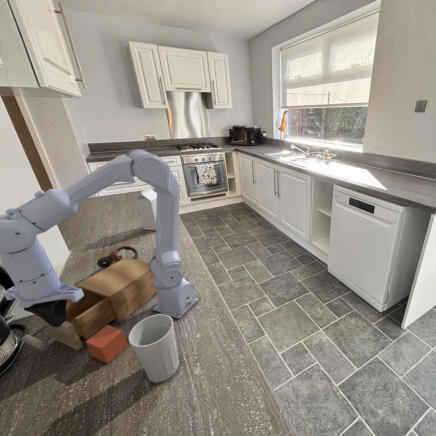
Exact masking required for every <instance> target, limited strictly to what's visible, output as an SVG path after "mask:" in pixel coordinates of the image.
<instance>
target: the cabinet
mask: <svg viewBox="0 0 436 436" xmlns="http://www.w3.org/2000/svg"><path fill="white" fill-rule="evenodd" d="M132 258H133V257H128V256H125V257H124V258H123V259H122V260H120V261H118V262H114V263H112V264H111V266H109V267H108V268H103V269H102V270H100V271H99V272H97V273H95V274H94V275H92V276H90V277H88V278H87V279H85V280H83V281H81V282H79V283H78V284H76V288H81V289H83V290H86V291H89V292H92V293H95V294H98V295H101V296H104V297H107V298H109V300H110V303H111V305H112V308H113V310H114V313H115V316H116V318H115V319H113V320H112V321H114V322H117V323H121V322H123V321H124V320H125V319H127V318H128V317H129V316H130V315H132V314H133V313H134V312H136V311H137V310H138V309H139V308H140V307H142V306H143V305H144V304H145V303H147V302H148V301H149V300H150V299H151V298H152V297H154V296H155V295H157V293H156V290H155V286H154V279H155V276H154V274H153V272H152V271H151V270H150V269H149V262H148V261H144V260H139V259H138V260H136V259H132Z"/></svg>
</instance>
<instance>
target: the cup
mask: <svg viewBox="0 0 436 436" xmlns="http://www.w3.org/2000/svg"><path fill="white" fill-rule="evenodd" d="M174 326H175V325H174V320H173V317H172V316H169V315H166V314H163V313H157V314H152V315H149V316H146V317H145V318H143V319H141V320H140V321H139V322H137V323H136V324H135V325H134V326H133V327H132V328H131V329H130V332H129V334H128V342H129V345H130V346H131V348H132V349H133V351H134V353H135V354H136V356H137V358H138V360H139V361H140V363H141V365H142V367H143V369H144V371H145V373H146V376H147V378H148V380H149V381H150V382H152V383H162V382H165V381H167V380H169V379H170V378H171V377H173V375H175V373H176V372H177V371H178V369H179V366H180V360H179V355H178V348H177V342H176V341H177V340H176V334H175V333H176V332H175V327H174Z"/></svg>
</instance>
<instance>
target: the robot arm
mask: <svg viewBox="0 0 436 436" xmlns="http://www.w3.org/2000/svg"><path fill="white" fill-rule="evenodd" d="M135 177H136V178H137V179H138V180H139V181H141V182H142V183H145V184H147V185H149V186H150V187H151V188H152V189H154V191H155V192H156V193H157V205H156V230H155V248H154V249H153V250H152V256H151V258H150V260H149V262H148V263H149V269H150V270H151V271H152V272H153V274H154V276H155V279H154V286H155V290H156V296H157V301H158V304H156V305H155V306H154V307H153V308H152V309H153V310H152V311H154V312H157V313H159V314H165V315H168V316H170V317H171V318H175V319H181V318H182V317H183V316H184V315H185V314H186V313H187V312H188V311H189V310H190V309H191V308H192V307H193V306H194V305H195V304H196V303H197V302H198V300H199V298H198V297H196V293H195V289H194V285H193V283H191V282H189V281H188V280H186V278H184V276H185V274H184V269H183V268H182V261H181V258H180V255H179V251H178V242H179V241H178V240H179V218H180V198H181V185H180V183H179V182H178V180H177V178H176V176H175V175H174V173H173V171H172V170H171V166H170V164H168V163H167V162H166V161H165V160H163V159H162V158H161V157H160V156H159V155H156V154H153V153H150V152H148V151H147V150H145V149H141V148H134V149H131V150H130V151H128V152H126V154H124V153H123V154H120V155H118V156H117V157H115V158H113V159H111V160H110V161H108V162H106V163H105V164H103V165H101V166H100V167H98V168H97V169H95V170H94V171H92V172H90V173H89V174H87V175H86V176H84V177H82V178H81V179H79V180H78V181H76V182H74V183H73V184H72V185H70V186H68V187H67V188H65V189H58V188H50V189H48V190H46V191H44V190H42V189H40V190H38V191H37V192H34V198H32V199H30V200H28V201H27V202H25V203H23V204H21V205H19V206H18V207H15V208H13V207H10V208H8V209H6V210H5V213H2V214H0V262H1V265H2V266H3V268H4V269H5V271H6V272H7V274H8V277H10V279H11V281H12V283H13V285H14V286H11V287H10V288H7V290H5V291H3V292H2V294H3V296H4V298H5V299H6V300H7V301H13V300H17V301H19V303H18V304H17V305H18V307H19V308H23V310H24V312H28V313H31V314H33V315H34V316H35V315H37V316H39V317H40V318H42V319H43V320H44V321H46V322H47V323H48V324H49V325H51V326H52V327H60V326H61V325H62V324H63V323H64V322H65V321H66V320H67V319H66V305H67V300H71V301H72V302H77V301H78V300H80V299H81V298H82V297H83V296H84V294H83V291H82V289H81V288H78V287H74V286H71V285H70V284H67V283H65V282H62V281H61V280H60V278H59V276H58V274H57V273H56V272H57V271H56V270H55V268H54V266H53V264H52V262H51V260H50V258H49V256H48V254H47V251H46V249H45V248H44V247H43V246H42V244H41V243H40V240H39V238H38V236H39V235H40V234H44V233H46V232H47V231H49V230H50V229H52V228H53V227H55V226H57V225H59V224H60V223H62V222H64V221H65V220H66V219H68V218H70V217H71V216H73V215H74V214H76V213H78V211H79V203H81V202H83V201H85V200H86V199H89V198H90V197H92V196H94V195H95V194H97V193H100V192H101V191H103V190H105V189H106V188H109V187H110V186H112V185H114V184H115V183H136V180H135ZM37 235H38V236H37Z"/></svg>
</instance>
